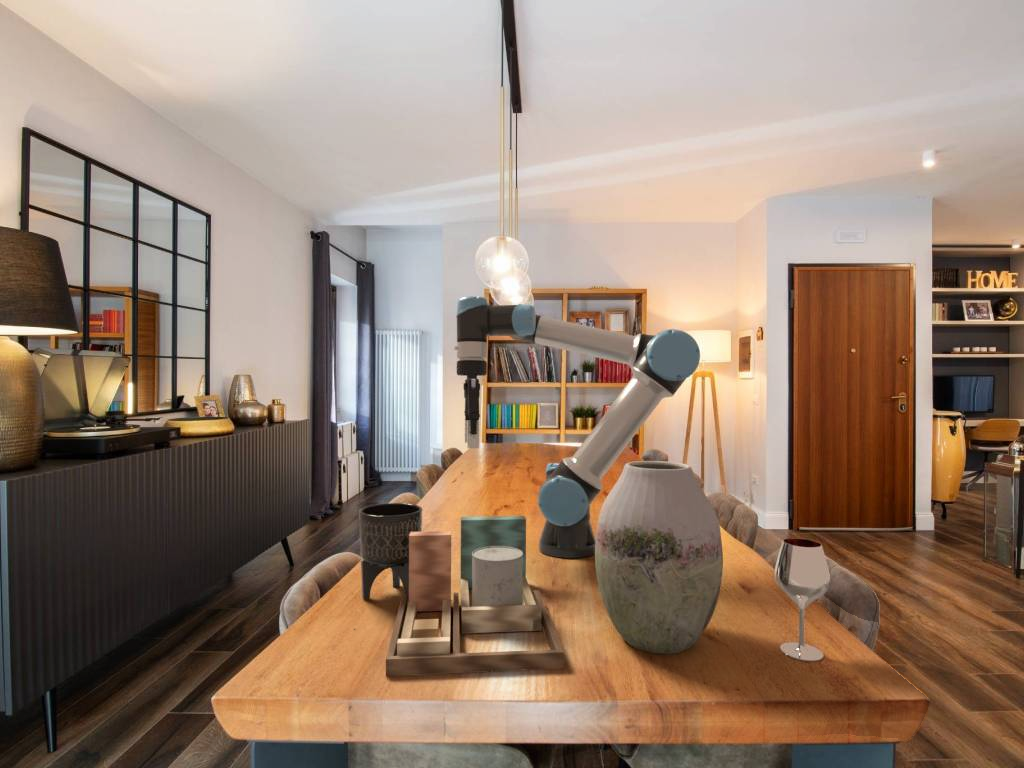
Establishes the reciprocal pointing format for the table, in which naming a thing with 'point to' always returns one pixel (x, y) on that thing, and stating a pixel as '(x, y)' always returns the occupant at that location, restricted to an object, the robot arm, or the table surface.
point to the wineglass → (802, 586)
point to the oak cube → (426, 628)
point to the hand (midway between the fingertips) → (471, 445)
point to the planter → (387, 542)
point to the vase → (658, 556)
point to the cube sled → (428, 591)
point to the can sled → (472, 537)
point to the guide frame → (473, 660)
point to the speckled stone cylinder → (497, 576)
